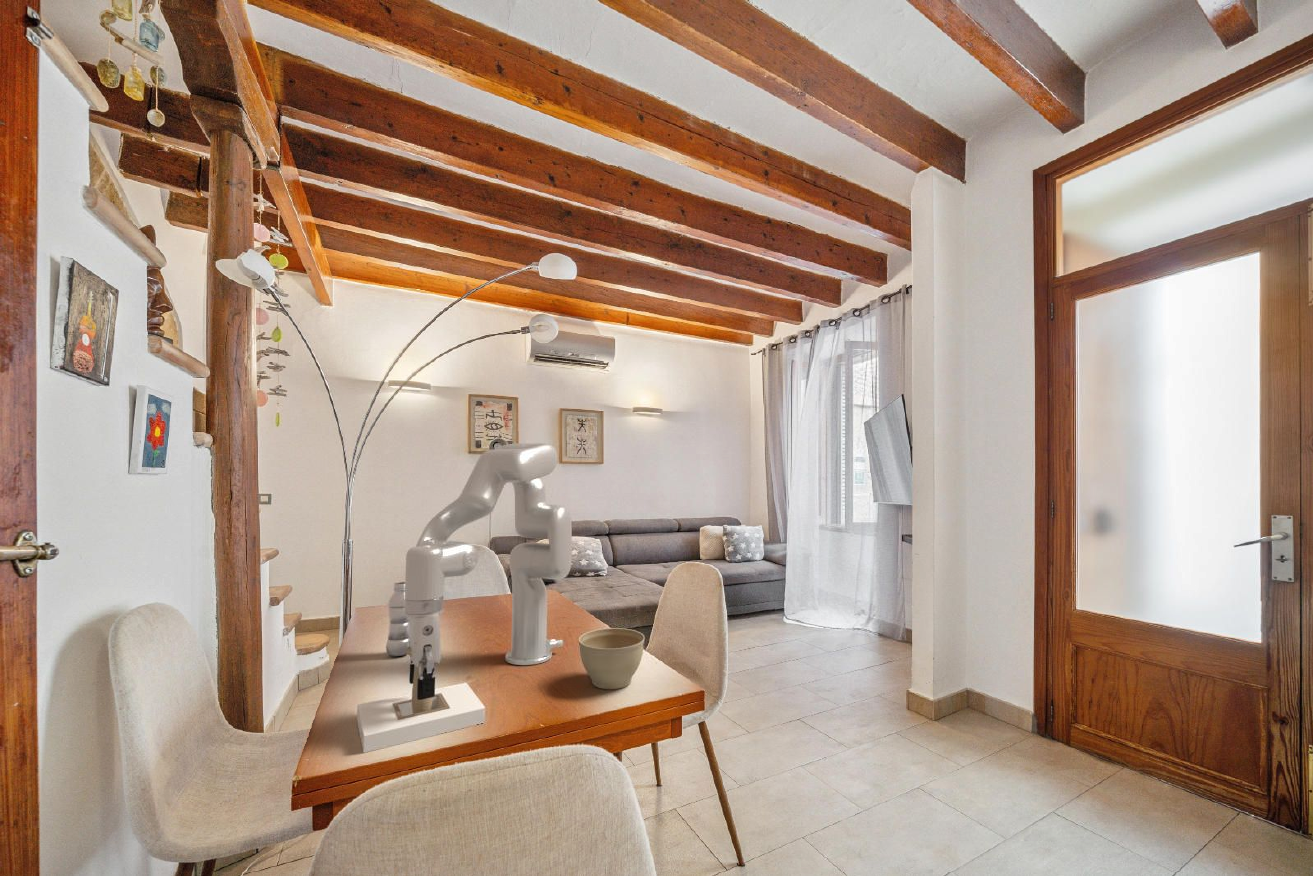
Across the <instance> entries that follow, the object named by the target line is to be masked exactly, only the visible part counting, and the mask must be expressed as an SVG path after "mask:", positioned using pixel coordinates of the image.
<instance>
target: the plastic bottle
mask: <svg viewBox="0 0 1313 876" xmlns="http://www.w3.org/2000/svg"><path fill="white" fill-rule="evenodd" d="M393 587H394V588H393V591H394V592H393V594H392V595H391V597H390V598H389V599H388V602H387V606H388V615H389V621H388V622H389V629H388V636H387V641H386V645H385V650H386V651H385V652H386V654H387V655H388V656H389V657H402V656H405V655H408V654H407V648H408V647H409V620H410V617H407V616H405V615H404V604H405V581H400V582H399V581H398V582H395V583H394V584H393Z"/></svg>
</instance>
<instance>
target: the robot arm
mask: <svg viewBox="0 0 1313 876" xmlns="http://www.w3.org/2000/svg"><path fill="white" fill-rule="evenodd" d="M557 464H558V453H557V450H556V448H555V447H554V446H553V445H551V444H549V443H546V442H545V443H543V442H537V443H536V442H535V443H532V442H530V443H527V442H526V443H525V442H524V443H521V442H520V443H509V444H508V443H507V444H503V445H501V446H500V447H499V448H496V449H494V448H493V449H489V450H486V451H484V452H483V453H482V454H480V456H479V458H478V459H477V461H476V463H475V465H474V467H473V470H472V471H471V473H470V475H469V477H468V478H467V481H466V483H465V485H464V487H463V489H462V491H461V494H460V495H459V496H458V498H456V499H455V500H453V501H452V502H451V503H449V504H448V505H447V506H445V507H444V508H443V509H442V510H441V511H439V512H438V513H437V514H436V515H435V516H434V517H432V519H430V521H429V522H428V523H427V525H426V526H425V527H424V529H423V531H422V533H421V534H420V537H419V539H418V540H417V543H416V544H415V546H412V547H410V548H409V549H408V550H407V552H406V555H405V574H404V576H405V580H404V582H405V604H404V615H405V616H407V617H410V620H409V647H410V649H411V652H412V657H411V656H409V658H410V659H409V660H410V663H409V675H408V676H409V677H408V678H409V679H408V680H409V684H410V685H413V679H414V667H415V666H416V667H418V668H419V679H418V684H417V699H418V700H422V699H427V698H432V697H434V696H435V689H436V669H435V663H436V664H437V665H438V664H440V662H441V659H442V658H441V656H442V655H441V651H442V650H441V646H442V645H441V644H442V643H441V619H440V614H442V613H443V612H444V596H445V595H444V592H445V591H444V590H445V578H451V577H462V576H466V575H468V574H470V573H472V572H473V570H474V569H475V568H476V566H477V564H478V561H479V554H478V550H477V549H476V547H475V546H474V545H473V544H471V543H469V542H466V541H459V540H458V541H454V540H448V539H449V538H450V536H452V535H453V534H454V533H455V532H456V531H458V530H459V529H460V528H462V527H464V526H466V525H469V524H471V523H473V522H475V521H478V520H481V519H483V518H486V517H487V516H489V515H490V514H491V513H492V512H494V509H495V506H496V505H497V502H498V500H499V499H500V496H501V493H502V492H503V489H504V486H506V484H509V483H510V484H511V483H512V486H513V490H514V527H515V528H514V529H515V532H516V534H517V535H518V536H520V537H521V538H526V539H535V540H536V539H537V540H538V539H539V540H548V543H542V542H522V543H520V544H517V545H515V546H514V547H513V548H512V549H511V551H510V553H509V559H508V562H509V563H508V565H509V570H510V576H511V584H512V586H511V587H512V588H511V589H512V592H511V594H512V595H511V596H512V597H511V599H512V600H511V601H512V602H511V604H512V605H511V645H510V646H511V647H510V648H511V650H509V651H508V652H506V654H505V657H504V658H505V660H504V661H506V662H507V663H509V664H511V665H514V666H531V665H538V664H542V663H545V662H547V661H549V660H550V659H551V658H552V656H553V651H552V650H553V649H554V648H561V647H563V646H564V641H563V639H555V638H551V639H548V638H547V632H548V631H547V629H548V628H547V626H548V624H547V619H548V592H547V587H546V584H545V582H544V580H562V579H565V578H566V577H567V576H568V575H569V573H570V571H571V568H572V560H573V555H572V554H573V550H572V549H573V546H572V545H573V543H572V542H573V540H572V539H573V538H572V537H573V536H572V533H573V532H572V531H573V527H572V517H571V514H570V512H569V510H568V509H567V508H566V507H565V506H563V505H561V504H547V501H546V500H547V499H546V486H545V482H544V480H543V477H545V476H548V475H550V474H552V472H553V471H554V470H555V469H556V467H557V466H558V465H557ZM543 579H544V580H543ZM423 650H424V653H423ZM423 661H426V662H423ZM421 662H422V663H421ZM423 667H426V668H424V670H423V669H422V668H423Z"/></svg>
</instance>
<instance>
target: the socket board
mask: <svg viewBox="0 0 1313 876" xmlns="http://www.w3.org/2000/svg"><path fill="white" fill-rule="evenodd" d="M356 709H357V710H356V711H357V712H356V713H357V714H356V722H357V726H358V727H357V728H358V731H359V736H360V737H359V738H360V743H361V747H362V751H363V754H366V753H368V752H373V751H377V750H381V749H385V748H389V747H393V746H397V745H402V744H406V743H411V742H414V741H417V740H422V739H425V737H426V738H429V737H434V736H438V735H437V734H439V735H441V733H443V734H446V733H445V732H447V733H451V732H454V731H458V729H459V730H462V728H463V729H467V728H471V727H475V726H478V725H477V724H479V725H482V724H481V723H483V724H486V707H485V705H484V704H483V703H482V701H481V700H480V699H479V697H478V696H477V695H476V693H475V692H474V691H473V689H472V688H471V687H470V686H469V684H468V683H467V682H463V683H458V684H452V685H449V686H443V687H438V688H437V687H436V688H435V696H434V697H432V706H431V710H429V711H424V712H420V713H415V714H413V712H412V693H409V694H403V695H399V696H398V695H397V696H393V697H390V698H389V697H388V698H384V699H379V700H374V701H370V702H369V701H368V702H363V703H358V704H357V708H356ZM433 735H434V736H433ZM421 738H422V739H421ZM405 742H406V743H405Z"/></svg>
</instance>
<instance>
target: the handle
mask: <svg viewBox="0 0 1313 876" xmlns="http://www.w3.org/2000/svg"><path fill="white" fill-rule="evenodd" d="M423 653H424V650H423ZM406 655H407V656H409V657H410V656H411V657H412V652H411V649H410V647H408V648H407V654H406ZM423 662H426V661H423ZM421 663H422V662H421ZM424 668H426V667H423V668H422V669H423V670H424ZM418 679H419V668H418V667H416V666H415V667H414V679H413V684H412V688H411V689H412V690H411V694H412V712H413V714H415V713H420V712H424V711H429V710H431V706H432V698H427V699H422V700H418V699H417V684H418Z"/></svg>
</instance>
